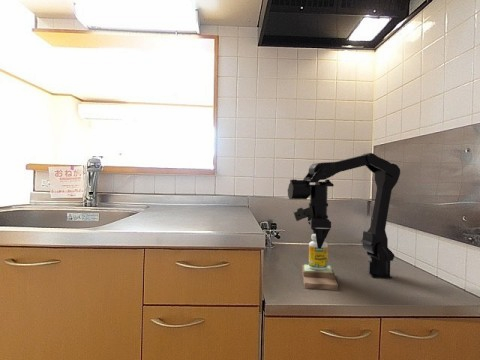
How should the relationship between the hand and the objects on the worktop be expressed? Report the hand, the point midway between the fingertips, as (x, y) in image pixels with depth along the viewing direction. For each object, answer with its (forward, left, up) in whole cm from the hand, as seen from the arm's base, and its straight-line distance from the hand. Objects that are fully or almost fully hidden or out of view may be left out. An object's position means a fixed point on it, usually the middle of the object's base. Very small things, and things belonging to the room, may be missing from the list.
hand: (318, 245), depth 114 cm
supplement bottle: (0, 0, -8) cm, 8 cm away
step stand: (0, +4, -11) cm, 12 cm away
